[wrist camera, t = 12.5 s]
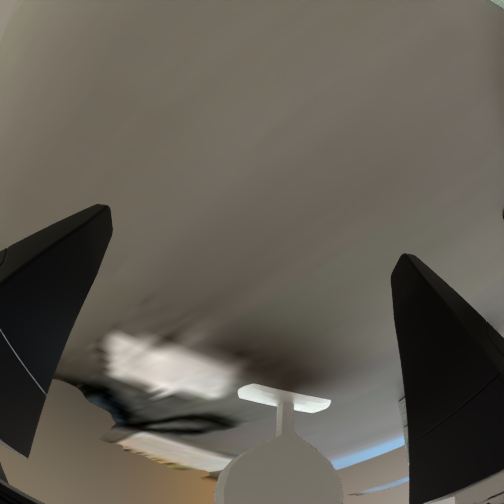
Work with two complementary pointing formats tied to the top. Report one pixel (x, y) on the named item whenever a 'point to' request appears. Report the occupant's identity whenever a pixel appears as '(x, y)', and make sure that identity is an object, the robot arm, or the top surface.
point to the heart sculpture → (280, 460)
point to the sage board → (499, 3)
